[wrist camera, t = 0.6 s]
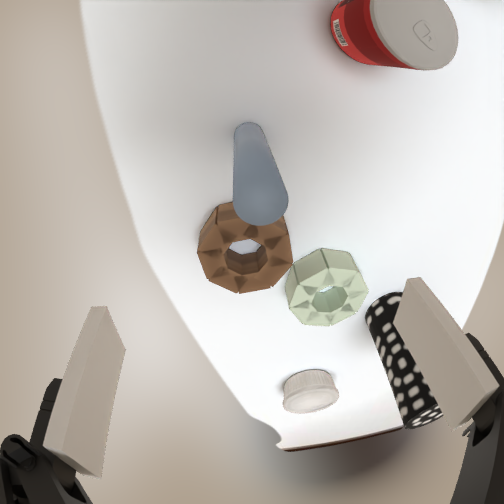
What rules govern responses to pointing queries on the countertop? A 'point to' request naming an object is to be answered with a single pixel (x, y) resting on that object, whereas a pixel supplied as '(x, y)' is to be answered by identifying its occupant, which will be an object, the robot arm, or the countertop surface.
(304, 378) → the ramekin
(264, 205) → the dowel
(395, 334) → the spotted tube
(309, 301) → the sage bead
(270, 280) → the walnut bead
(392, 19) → the canned food
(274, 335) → the countertop surface
